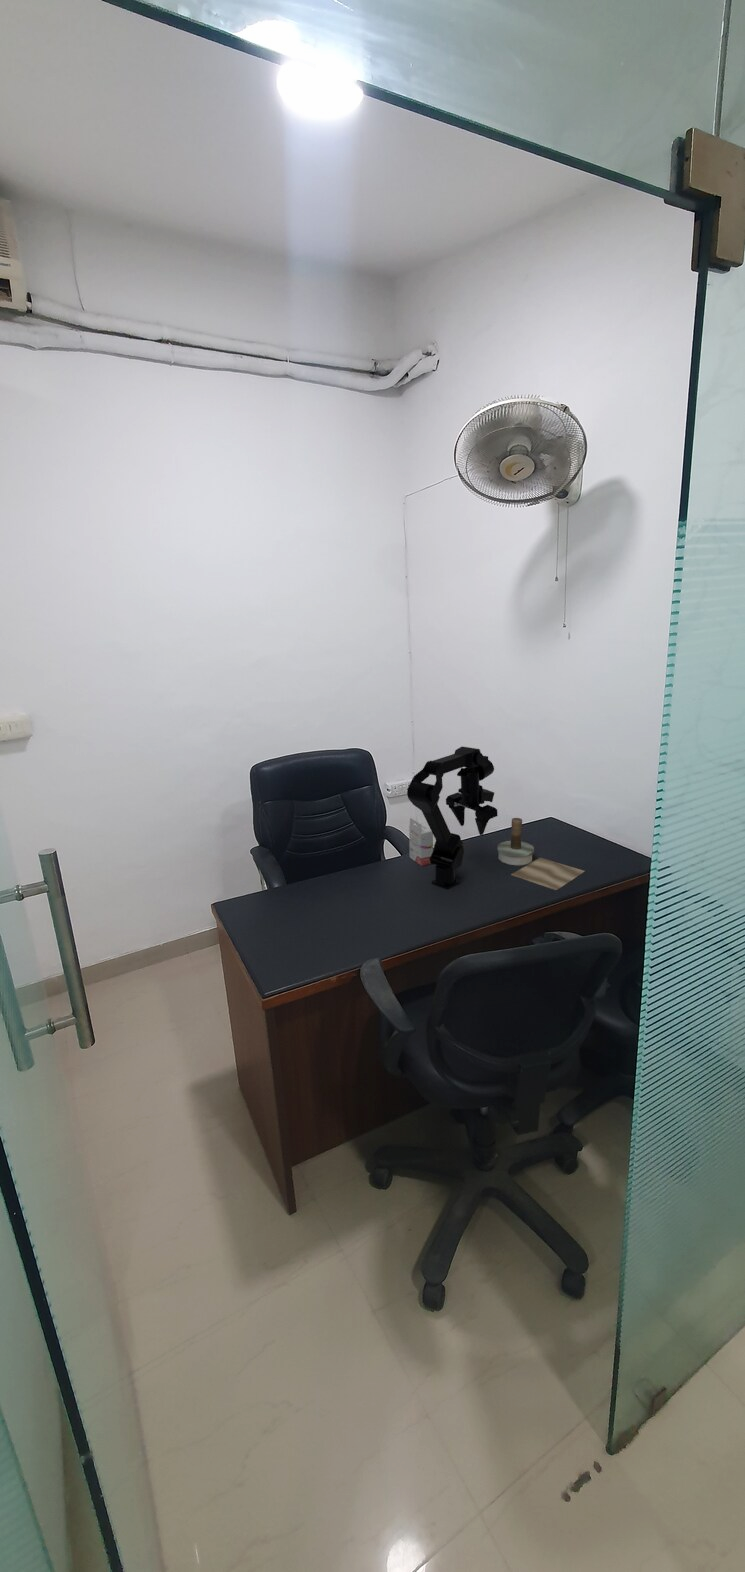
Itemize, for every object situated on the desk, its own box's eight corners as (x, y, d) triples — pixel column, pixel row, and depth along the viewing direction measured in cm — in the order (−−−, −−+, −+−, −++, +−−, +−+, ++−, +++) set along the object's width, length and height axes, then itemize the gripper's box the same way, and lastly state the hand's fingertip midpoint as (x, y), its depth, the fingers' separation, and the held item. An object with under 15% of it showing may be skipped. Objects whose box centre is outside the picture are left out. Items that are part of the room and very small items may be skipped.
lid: (532, 859, 197) (534, 827, 193) (495, 855, 200) (496, 824, 197) (535, 845, 207) (537, 815, 204) (499, 841, 211) (501, 812, 208)
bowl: (520, 868, 197) (520, 859, 197) (492, 859, 205) (492, 850, 204) (538, 858, 205) (538, 849, 204) (510, 849, 212) (510, 841, 211)
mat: (556, 891, 182) (556, 890, 182) (510, 875, 193) (510, 874, 193) (584, 871, 194) (584, 871, 194) (540, 858, 205) (540, 857, 205)
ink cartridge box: (433, 863, 203) (434, 822, 199) (421, 866, 201) (420, 825, 197) (421, 854, 211) (421, 814, 206) (408, 857, 209) (408, 817, 204)
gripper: (510, 786, 187) (510, 831, 193) (469, 771, 202) (471, 814, 207) (483, 796, 182) (484, 842, 187) (443, 780, 196) (446, 823, 202)
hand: (471, 830), depth 196 cm, fingers open, 9 cm apart
